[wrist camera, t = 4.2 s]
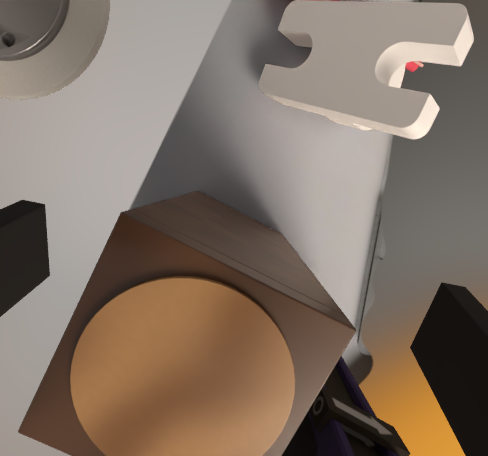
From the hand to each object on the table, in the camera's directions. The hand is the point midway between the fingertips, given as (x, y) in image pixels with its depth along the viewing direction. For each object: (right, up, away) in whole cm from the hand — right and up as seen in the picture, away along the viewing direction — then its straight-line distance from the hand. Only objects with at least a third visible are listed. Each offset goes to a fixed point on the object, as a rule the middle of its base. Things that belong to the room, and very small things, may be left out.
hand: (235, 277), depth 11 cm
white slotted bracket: (+9, +18, +20) cm, 28 cm away
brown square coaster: (-2, -5, +6) cm, 9 cm away
